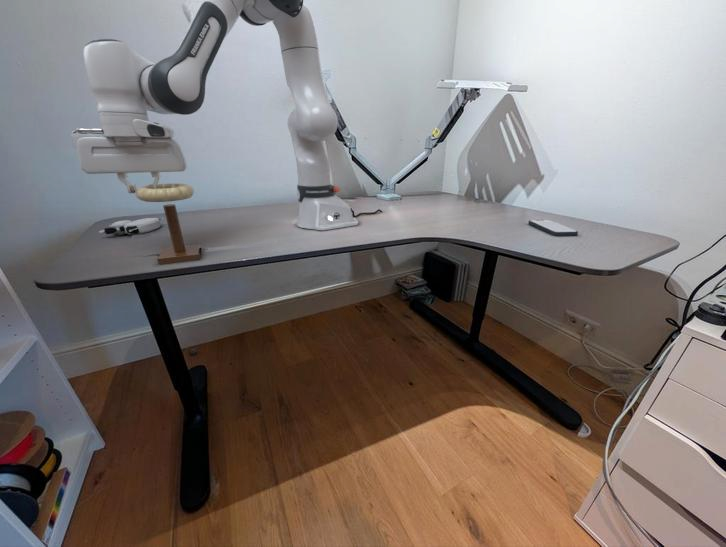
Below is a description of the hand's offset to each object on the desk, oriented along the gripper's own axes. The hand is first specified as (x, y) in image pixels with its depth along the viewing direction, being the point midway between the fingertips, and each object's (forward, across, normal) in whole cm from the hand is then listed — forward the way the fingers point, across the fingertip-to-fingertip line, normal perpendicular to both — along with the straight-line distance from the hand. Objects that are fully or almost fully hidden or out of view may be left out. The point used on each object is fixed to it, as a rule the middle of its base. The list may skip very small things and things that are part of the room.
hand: (144, 192), depth 74 cm
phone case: (+17, +122, -17) cm, 124 cm away
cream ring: (0, +4, 0) cm, 4 cm away
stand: (+17, +4, 0) cm, 17 cm away
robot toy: (+17, -12, +29) cm, 36 cm away
